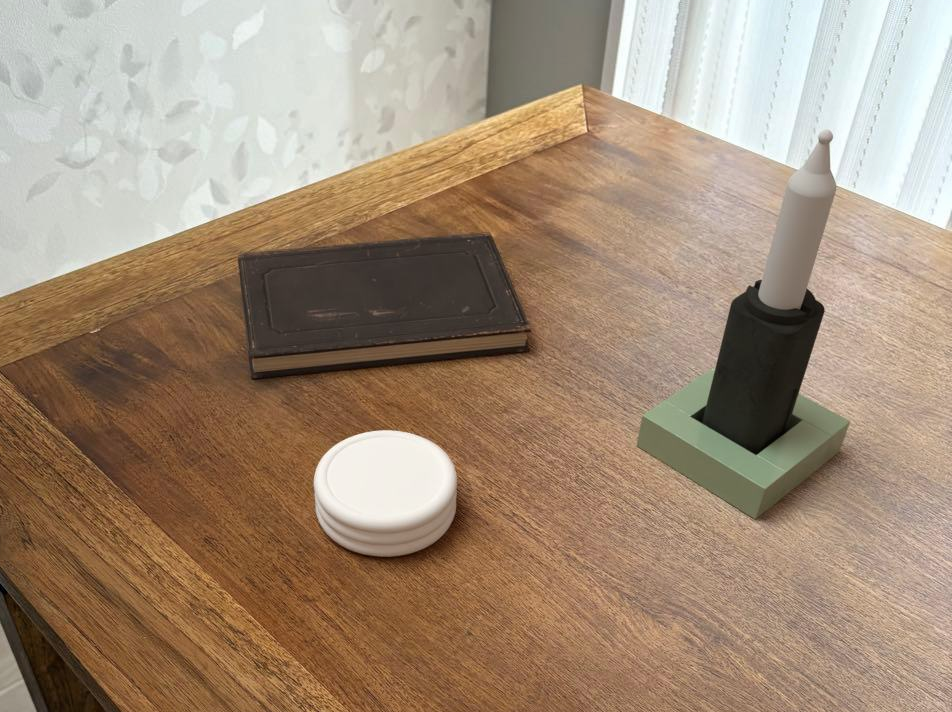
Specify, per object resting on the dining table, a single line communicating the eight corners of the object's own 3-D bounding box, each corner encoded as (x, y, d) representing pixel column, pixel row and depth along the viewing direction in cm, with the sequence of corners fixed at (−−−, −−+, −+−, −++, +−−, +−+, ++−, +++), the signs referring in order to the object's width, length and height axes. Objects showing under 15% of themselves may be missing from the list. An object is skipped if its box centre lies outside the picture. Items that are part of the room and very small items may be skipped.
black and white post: (730, 418, 86) (814, 103, 68) (786, 450, 84) (888, 131, 66) (689, 447, 84) (766, 129, 66) (745, 481, 81) (841, 159, 63)
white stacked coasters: (443, 569, 75) (445, 533, 73) (300, 550, 76) (296, 513, 74) (465, 471, 82) (467, 435, 79) (334, 455, 83) (331, 419, 81)
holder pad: (722, 386, 89) (729, 355, 87) (839, 451, 84) (851, 420, 81) (636, 445, 84) (642, 414, 82) (755, 519, 79) (765, 488, 76)
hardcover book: (528, 351, 92) (531, 328, 91) (251, 379, 90) (248, 356, 88) (487, 250, 103) (489, 228, 102) (239, 272, 101) (236, 249, 99)
